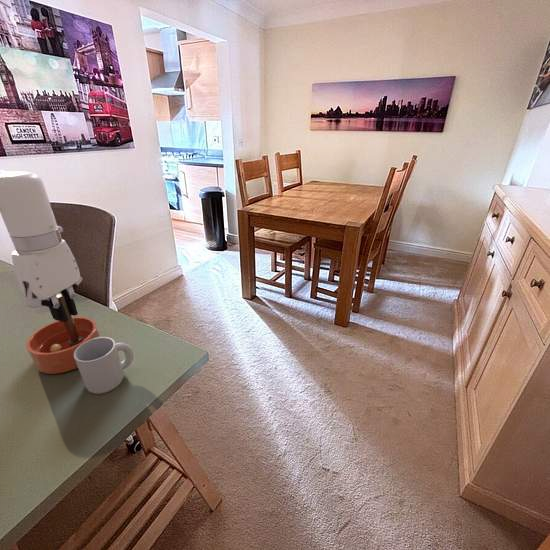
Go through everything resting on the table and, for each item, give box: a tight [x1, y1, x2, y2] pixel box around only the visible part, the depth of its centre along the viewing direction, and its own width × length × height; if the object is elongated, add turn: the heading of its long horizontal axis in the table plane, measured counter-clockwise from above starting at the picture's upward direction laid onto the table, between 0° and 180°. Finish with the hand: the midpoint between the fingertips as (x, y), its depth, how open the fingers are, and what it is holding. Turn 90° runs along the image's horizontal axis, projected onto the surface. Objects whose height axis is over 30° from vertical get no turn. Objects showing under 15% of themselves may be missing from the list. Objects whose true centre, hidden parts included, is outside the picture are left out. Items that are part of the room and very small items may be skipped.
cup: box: [74, 336, 134, 395], centre depth 62 cm, size 7×10×9 cm
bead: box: [50, 344, 62, 352], centre depth 70 cm, size 2×2×2 cm
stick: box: [56, 293, 83, 347], centre depth 67 cm, size 3×3×14 cm
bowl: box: [25, 316, 101, 375], centre depth 69 cm, size 13×13×6 cm
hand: (66, 316), depth 67 cm, fingers closed on stick
